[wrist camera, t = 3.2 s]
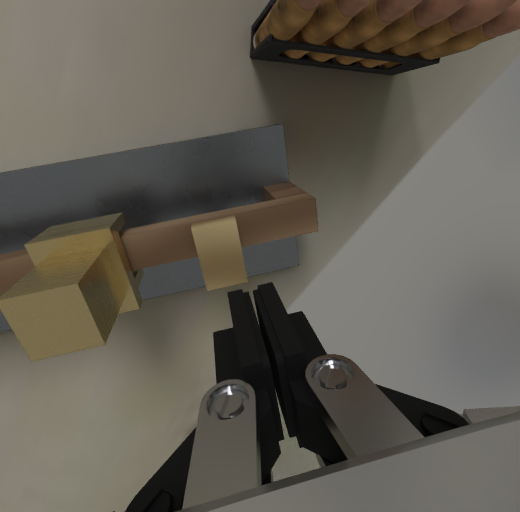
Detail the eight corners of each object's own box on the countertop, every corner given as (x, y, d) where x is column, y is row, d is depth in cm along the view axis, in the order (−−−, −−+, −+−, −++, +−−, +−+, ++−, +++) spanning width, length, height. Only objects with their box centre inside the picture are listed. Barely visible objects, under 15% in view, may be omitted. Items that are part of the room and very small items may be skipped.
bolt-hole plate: (-181, 204, 20) (-204, 209, 19) (278, 124, 23) (283, 124, 22) (-78, 341, 24) (-91, 352, 23) (295, 259, 27) (299, 265, 26)
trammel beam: (-156, 268, 20) (-309, 331, 14) (289, 181, 23) (321, 202, 17) (-116, 319, 22) (-237, 396, 16) (295, 232, 25) (326, 268, 19)
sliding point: (74, 209, 21) (-32, 283, 11) (134, 198, 22) (81, 260, 12) (101, 276, 23) (31, 385, 14) (156, 264, 24) (126, 363, 14)
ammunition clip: (400, 45, 22) (591, -28, 11) (394, 75, 23) (568, 33, 12) (251, 25, 20) (312, -88, 9) (249, 58, 21) (304, -11, 10)
